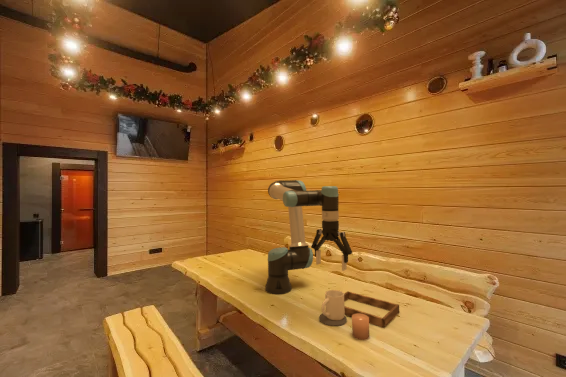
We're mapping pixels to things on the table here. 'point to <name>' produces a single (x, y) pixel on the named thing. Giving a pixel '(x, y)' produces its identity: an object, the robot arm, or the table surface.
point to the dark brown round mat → (332, 321)
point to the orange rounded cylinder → (360, 326)
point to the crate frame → (373, 302)
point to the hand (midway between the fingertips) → (330, 266)
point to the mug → (334, 305)
